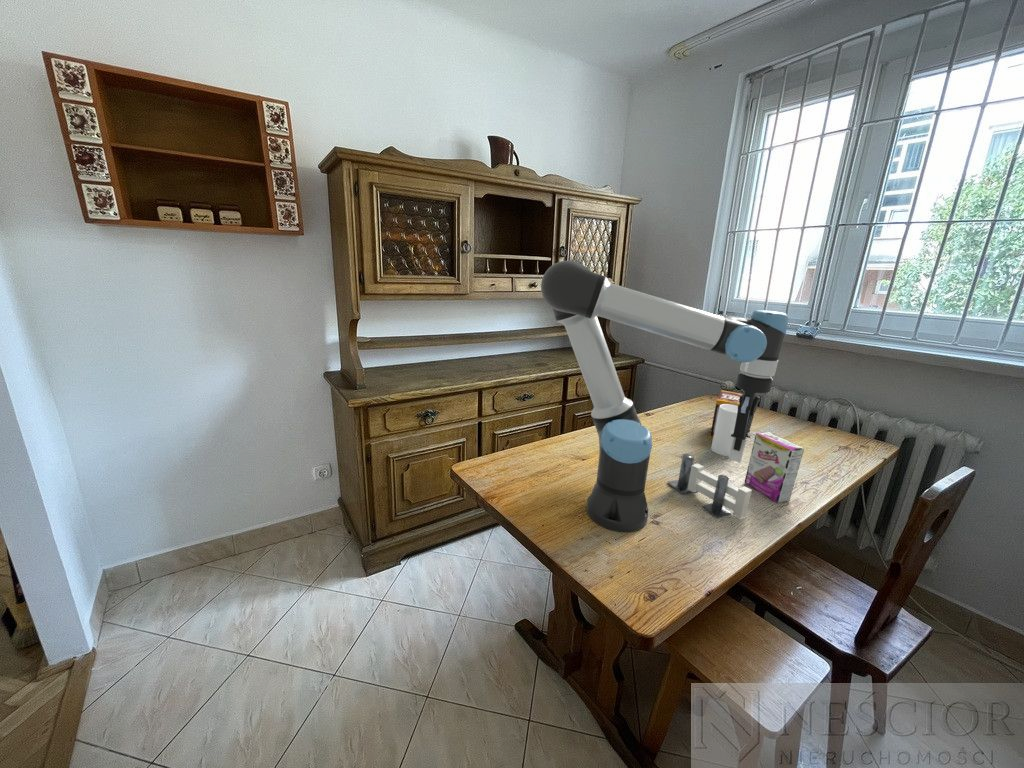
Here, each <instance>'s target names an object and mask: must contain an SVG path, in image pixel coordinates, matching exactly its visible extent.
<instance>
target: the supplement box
mask: <svg viewBox="0 0 1024 768" xmlns="http://www.w3.org/2000/svg"><path fill="white" fill-rule="evenodd" d="M742 394H743V393H738V392H732V391H727V390H723V389H722V390H721V391H720V393H719V395H718V396H717V399H716V403H715V407H714V414H713V420H712V424H711V429H710V433H709V438H708V439H709V440H712V441H713V436H714V432H715V427H716V422H717V417H718V412H719V407H720V405H722V404H731V405H736V406H738V405H739V404H740V403H739V399H740V396H742Z"/></svg>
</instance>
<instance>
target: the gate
mask: <svg viewBox="0 0 1024 768" xmlns="http://www.w3.org/2000/svg"><path fill="white" fill-rule="evenodd" d="M704 468H705V467H704V465H701V464H699V463H698V462H697V463H695V464H694V463H693V465H692V467H691V472H690V478H689V483H688V488H687V489H688V490H690V491H692V492H693V493H696V491H698V492H697V493H699V494H702V495H703V496H705V497H707V498H709V499H711V500H712V501H713V499H714V494H715V489H716V485H717V480H718V476H715V475H713V474H711V473H709V472H708V471H705V470H704ZM702 482H703V483H702ZM705 483H706V484H708V485H706V484H705ZM710 486H711V487H710ZM712 487H713V488H712ZM714 488H715V489H714ZM752 492H753V490H752V489H751V488H748V487H746V486H744V485H743V486H742V487H738V486H736V485H733V484H732V483H730V482H728V485H727V489H726V494H725V498H724V503H723V507H724V508H727V509H728V510H731V511H732V515H733V516H734V517H736V518H738V519H739V520H740V519H742V518H745V517H746V516H747V513H748V508H749V505H750V499H751V497H752ZM728 495H729V496H731V497H729V496H728ZM733 498H734V499H733Z"/></svg>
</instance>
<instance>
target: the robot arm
mask: <svg viewBox="0 0 1024 768" xmlns="http://www.w3.org/2000/svg"><path fill="white" fill-rule="evenodd" d="M540 282H541V283H540V291H541V295H542V298H543V300H544V302H545V303H546V304H547V306H549V307H550V308H551V310H552V312H553V315H554V318H555V321H556V323H559V324H561V325H563V326H564V328H565V330H566V333H567V336H568V338H569V339H568V340H569V341H570V345H571V348H572V350H573V353H574V355H575V358H576V360H577V364H578V366H579V369H580V372H581V375H582V377H583V380H584V383H585V386H586V388H587V391H588V394H589V396H590V399H591V402H592V405H593V408H592V411H591V413H590V416H591V419H592V422H593V423H594V427H595V431H596V433H597V436H598V441H599V442H598V444H599V445H598V449H599V453H598V454H599V456H598V463H597V464H598V466H597V472H596V473H597V474H596V481H595V484H594V486H593V488H592V491H591V493H590V494H589V496H587V497H588V498H587V501H586V513H587V515H588V517H589V518H590V519H591V520H592V521H593V522H594V523H596V524H597V525H599V526H601V527H603V528H605V529H608V530H611V531H615V532H620V533H621V532H624V533H628V532H629V533H630V532H631V533H632V532H636V531H639V530H641V529H643V528H644V527H646V525H647V523H648V519H649V507H648V503H647V502H648V501H647V497H646V493H645V488H646V483H647V477H648V476H647V475H648V469H649V465H650V464H649V462H650V458H651V456H650V455H651V453H652V448H653V436H652V432H651V431H650V430H649V429H648V427H646V426H644V425H642V421H641V420H640V417H639V416H638V413H637V410H636V407H635V404H634V402H633V400H632V399H631V398H627V397H626V396H625V393H624V390H623V387H622V385H621V382H620V379H619V375H618V374H617V373H618V372H617V370H616V367H615V364H614V361H613V359H612V356H611V352H610V350H609V347H608V344H607V342H606V339H605V336H604V335H605V334H604V333H603V329H602V327H601V324H600V321H599V319H598V317H600V318H604V319H607V320H611V321H614V322H616V323H619V324H622V325H627V326H630V327H631V328H632V327H633V328H636V329H640V330H643V331H645V332H649V333H652V334H656V335H659V336H662V337H665V338H668V339H671V340H672V339H673V340H674V341H679V342H682V343H685V344H688V345H691V346H694V347H698V348H701V349H704V350H708V351H710V352H714V353H716V354H720V355H723V356H726V357H728V358H730V359H731V360H733V361H736V362H740V363H741V364H740V367H739V370H740V372H738V375H737V379H736V382H735V387H737V388H738V389H739V390H743V391H744V392H743V393H741V394H742V396H740V399H739V403H740V404H739V405H738V412H737V418H736V423H735V428H734V433H733V434H731V436H732V437H734V439H733V443H732V447H731V451H730V455H729V456H728V460H730V461H733V462H737V463H741V462H742V458H743V455H744V451H745V446H746V442H747V438H748V439H751V436H752V435H750V434H749V433H750V432H751V427H752V423H753V420H754V416H755V413H756V412H757V409H758V404H759V403H760V401H761V397H760V396H759V394H768V393H770V392H771V389H772V387H773V386H772V385H773V381H774V379H773V377H774V376H775V375H776V371H777V367H778V364H779V359H780V358H779V357H780V353H781V349H782V347H783V343H784V339H785V336H786V334H787V328H788V324H789V323H788V321H789V316H788V314H787V313H785V312H782V311H781V312H780V311H775V310H764V309H763V310H762V309H761V310H760V309H756V310H753V312H752V313H751V315H750V317H732V316H725V315H724V316H722V315H717V314H715V313H714V314H713V313H711V312H708V311H704V310H702V309H698V308H695V307H691V306H688V305H685V304H681V303H678V302H676V301H671V300H668V299H665V298H662V297H659V296H654V295H651V294H648V293H645V292H642V291H638V290H634V289H633V288H629V287H628V288H627V287H625V286H621V285H618V284H616V283H612V282H610V281H609V279H608V277H607V276H606V275H603V274H602V275H601V274H599V273H597V272H593V271H592V270H589V269H587V268H586V266H585V265H584V264H582V263H580V262H578V261H575V260H562V261H557V262H556V263H553V264H552V265H551V266H549V268H547V270H546V271H545V273H544V274H543V276H542V278H541V281H540Z"/></svg>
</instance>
